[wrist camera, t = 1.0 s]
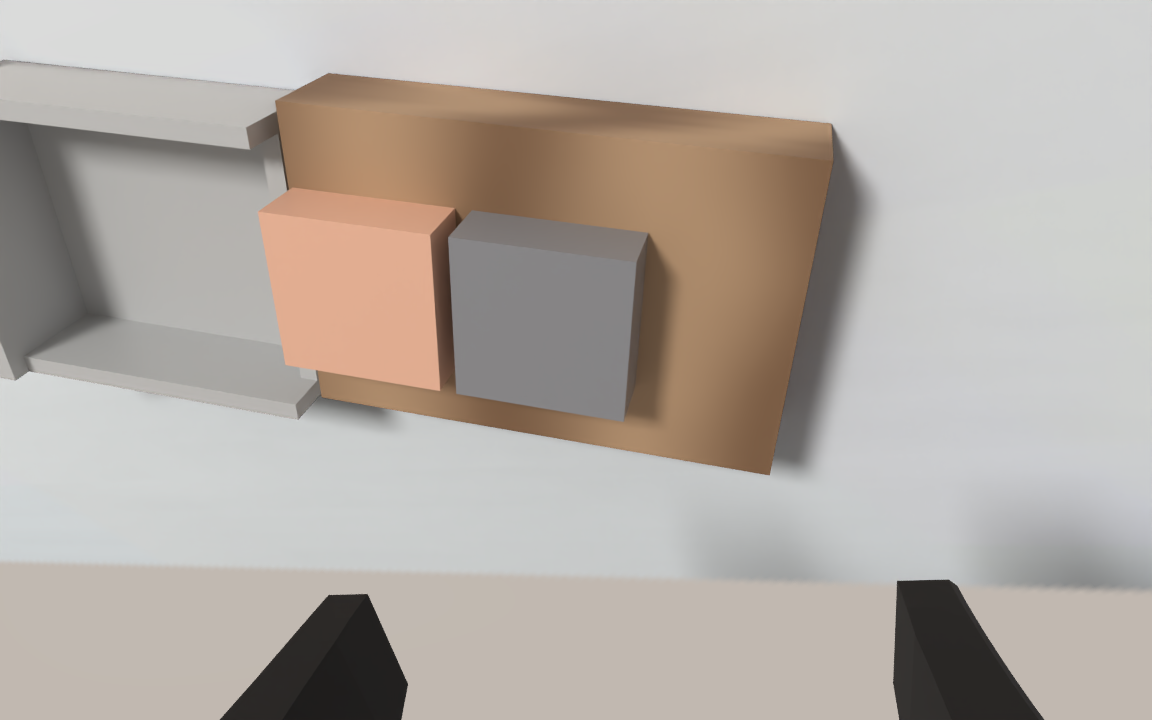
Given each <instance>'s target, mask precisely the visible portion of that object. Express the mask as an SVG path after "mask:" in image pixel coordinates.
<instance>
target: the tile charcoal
mask: <svg viewBox="0 0 1152 720" xmlns="http://www.w3.org/2000/svg"><path fill="white" fill-rule="evenodd" d="M647 244H648V233H646V232H639V231H631V230H623V229H615V228H607V227H599V226H591V225H583V224H576V223H568V222H560V221H552V220H544V219H536V218H528V217H521V216H513V215H505V214H497V213H489V212H481V211H473V210H472V211H471V212H470V213H469V214H468V215H467V216H466V218H465V219H464V220H463V221H462V222H461V223H460V224H459V225H458V227H457V228H456V229H455V230H454V231H453V232H452V233H451V234H450V236H449V237H448V245H449V264H450V283H451V302H452V320H453V339H454V358H455V377H456V394H460V395H466V396H472V397H478V398H484V399H490V400H496V401H502V402H508V403H514V404H520V405H526V406H532V407H538V408H544V409H550V410H556V411H562V412H567V413H573V414H579V415H585V416H591V417H597V418H603V419H609V420H615V421H621V422H624V420H625V417H626V414H627V410H628V407H629V404H630V401H631V398H632V395H633V392H634V389H635V384H636V372H637V361H638V349H639V337H640V326H641V314H642V302H643V291H644V279H645V267H646V256H647Z"/></svg>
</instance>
